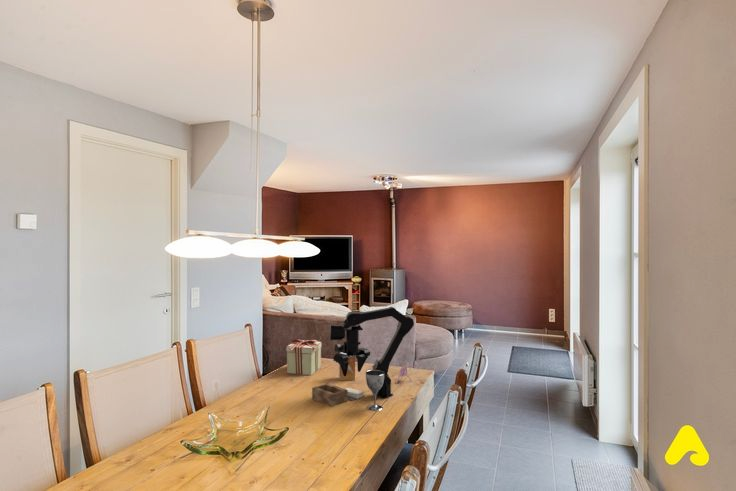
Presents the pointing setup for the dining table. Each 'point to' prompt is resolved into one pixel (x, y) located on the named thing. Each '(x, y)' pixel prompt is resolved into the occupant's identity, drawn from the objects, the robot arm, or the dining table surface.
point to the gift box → (303, 357)
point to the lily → (403, 372)
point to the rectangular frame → (329, 394)
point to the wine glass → (374, 386)
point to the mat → (352, 398)
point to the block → (354, 393)
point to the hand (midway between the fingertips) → (352, 373)
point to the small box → (348, 370)
